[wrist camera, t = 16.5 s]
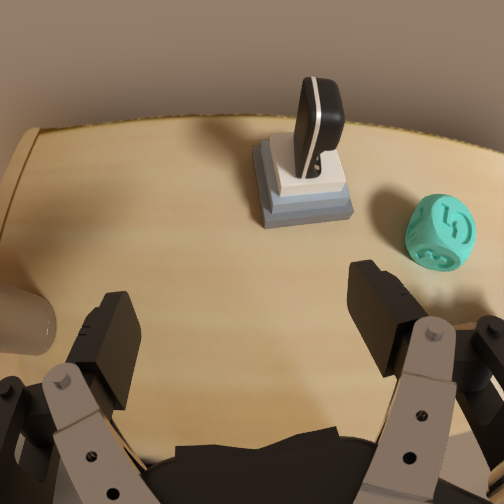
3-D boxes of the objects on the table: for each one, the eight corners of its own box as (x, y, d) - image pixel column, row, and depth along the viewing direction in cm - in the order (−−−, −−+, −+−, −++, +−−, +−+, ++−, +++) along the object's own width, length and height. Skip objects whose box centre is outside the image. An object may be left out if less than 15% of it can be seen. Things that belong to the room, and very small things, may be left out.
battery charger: (326, 183, 36) (351, 121, 25) (295, 181, 36) (310, 117, 26) (321, 137, 38) (340, 72, 28) (292, 135, 39) (303, 69, 28)
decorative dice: (410, 209, 44) (435, 185, 36) (451, 231, 43) (479, 211, 35) (399, 255, 42) (425, 235, 34) (442, 276, 41) (473, 261, 33)
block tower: (264, 229, 43) (267, 204, 35) (252, 155, 46) (252, 124, 39) (348, 219, 43) (365, 194, 36) (328, 149, 47) (339, 119, 40)
